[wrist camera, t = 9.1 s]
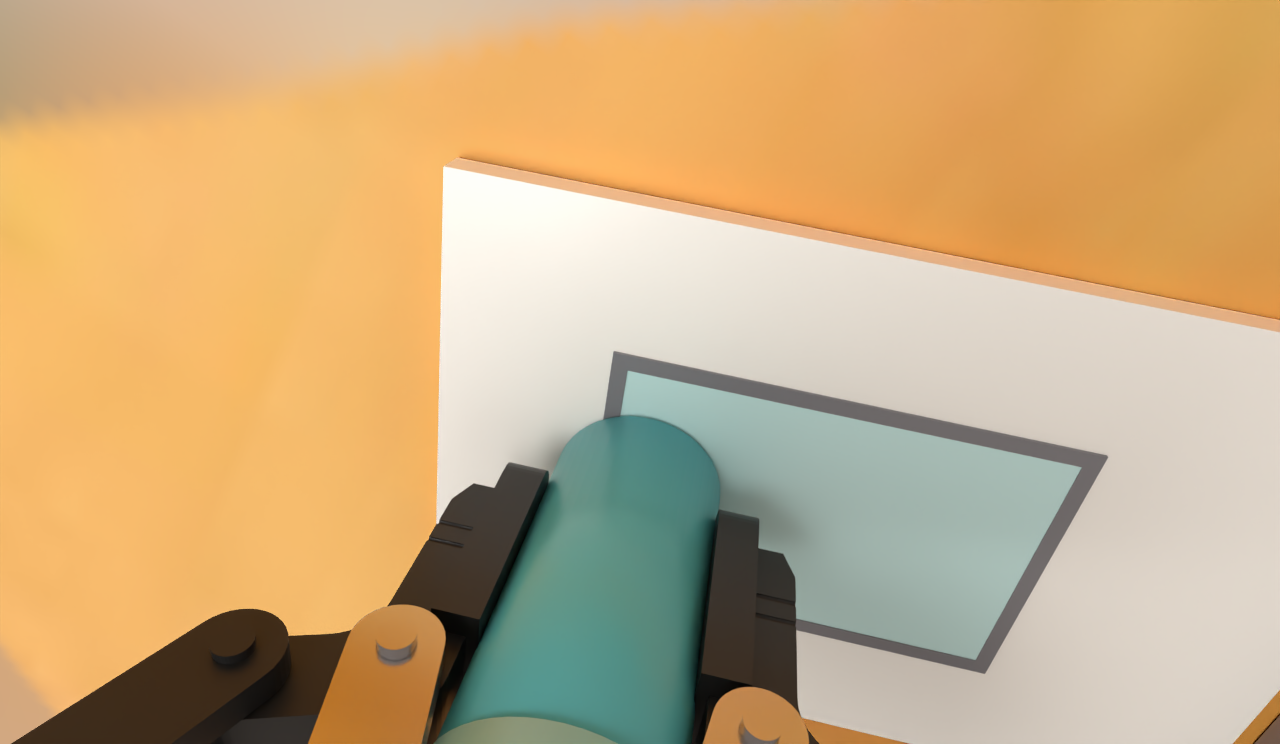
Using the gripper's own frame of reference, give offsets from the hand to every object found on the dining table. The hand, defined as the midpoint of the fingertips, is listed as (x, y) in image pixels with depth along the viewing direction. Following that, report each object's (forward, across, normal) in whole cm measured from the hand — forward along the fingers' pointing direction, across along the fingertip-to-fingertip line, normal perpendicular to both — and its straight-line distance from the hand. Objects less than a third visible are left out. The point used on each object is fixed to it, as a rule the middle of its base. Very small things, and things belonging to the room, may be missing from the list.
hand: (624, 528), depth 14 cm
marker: (+1, 0, 0) cm, 1 cm away
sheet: (+2, -4, 0) cm, 5 cm away
